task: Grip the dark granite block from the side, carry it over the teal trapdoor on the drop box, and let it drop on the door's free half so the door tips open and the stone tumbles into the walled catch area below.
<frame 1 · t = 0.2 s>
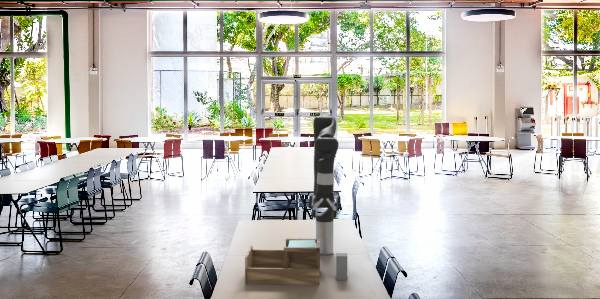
hand: (324, 218, 269), 29 cm above the table, tool pointing down, fingers open, 8 cm apart
trapdoor frame: (302, 277, 277), on the table
granite stone: (341, 277, 276), on the table
trapdoor: (301, 244, 275), point 15 cm above the table, hinge at -1.3°
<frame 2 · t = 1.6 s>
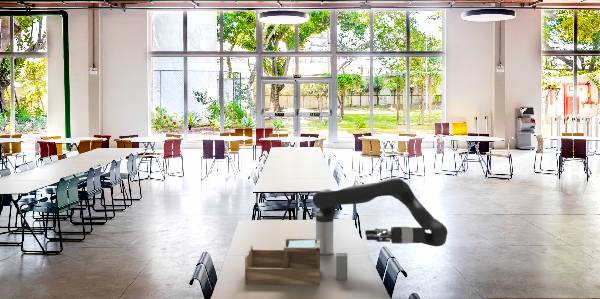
hand: (365, 235, 273), 20 cm above the table, tool horizontal, fingers open, 8 cm apart
trapdoor: (301, 244, 275), point 15 cm above the table, hinge at -2.3°
everything else where it was.
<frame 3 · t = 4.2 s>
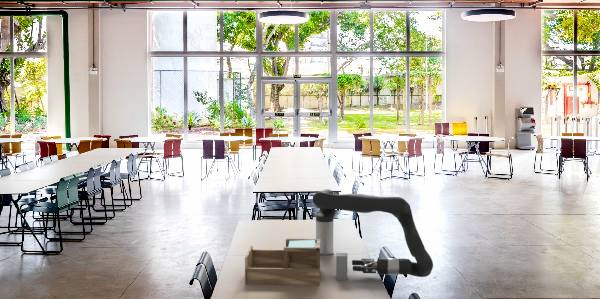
hand: (352, 265, 275), 6 cm above the table, tool horizontal, fingers open, 8 cm apart
nothing on the table moved.
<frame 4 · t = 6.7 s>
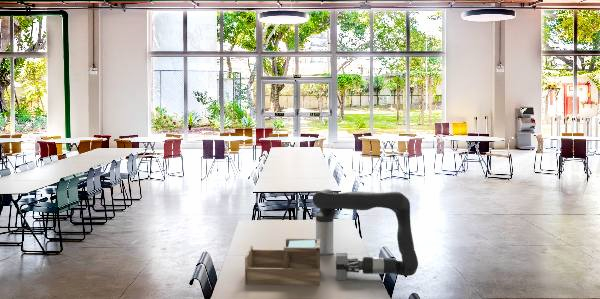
hand: (336, 265, 275), 6 cm above the table, tool horizontal, fingers closed on granite stone, 5 cm apart
granite stone: (341, 277, 276), on the table, touching gripper
everything else where it was.
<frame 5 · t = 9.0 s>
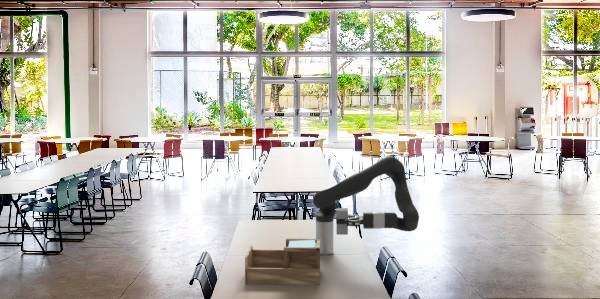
hand: (336, 220, 273), 27 cm above the table, tool horizontal, fingers closed on granite stone, 5 cm apart
granite stone: (342, 233, 274), point 21 cm above the table, touching gripper
everything else where it was.
when the fingers open (24 cm above the table, at t = 11.4 s): granite stone drops 6 cm and tips over, point 13 cm above the table.
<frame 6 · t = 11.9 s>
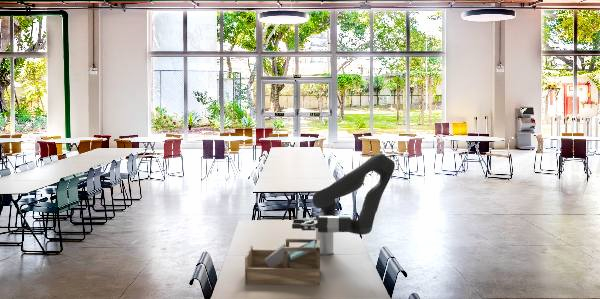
hand: (292, 223, 274), 25 cm above the table, tool horizontal, fingers open, 8 cm apart
granite stone: (287, 249, 276), point 13 cm above the table, tilted 128°
trapdoor: (303, 249, 275), point 13 cm above the table, hinge at -25.0°
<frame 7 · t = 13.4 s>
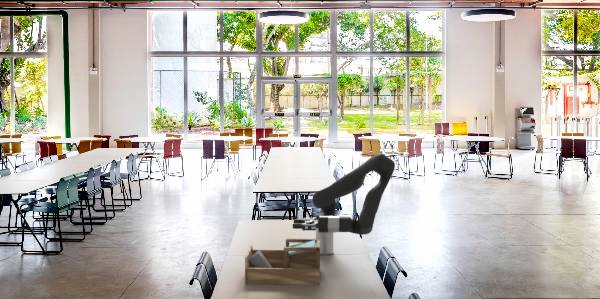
hand: (293, 223, 274), 25 cm above the table, tool horizontal, fingers open, 8 cm apart
granite stone: (254, 254, 277), point 10 cm above the table, tilted 144°
trapdoor: (302, 247, 275), point 14 cm above the table, hinge at -14.4°
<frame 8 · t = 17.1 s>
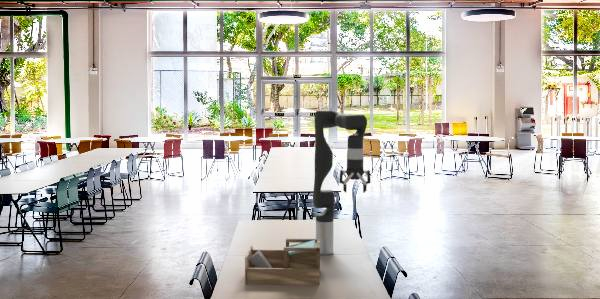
hand: (354, 192, 280), 38 cm above the table, tool pointing down, fingers open, 8 cm apart
granite stone: (254, 254, 277), point 10 cm above the table, tilted 144°, touching trapdoor frame
trapdoor: (302, 247, 275), point 14 cm above the table, hinge at -13.6°
at the end: granite stone touching table, trapdoor frame; granite stone inside the target area on the trapdoor frame (13.0 cm from its centre), point 10.3 cm above the trapdoor frame's base; the gripper is holding nothing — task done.
